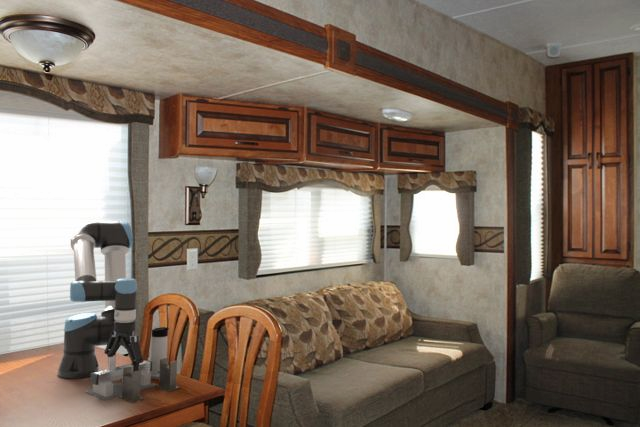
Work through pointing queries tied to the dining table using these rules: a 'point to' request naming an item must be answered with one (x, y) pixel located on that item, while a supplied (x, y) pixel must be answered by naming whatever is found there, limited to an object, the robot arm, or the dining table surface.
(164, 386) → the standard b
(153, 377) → the travel mug
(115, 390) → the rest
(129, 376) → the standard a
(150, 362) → the rail
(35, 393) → the dining table surface
